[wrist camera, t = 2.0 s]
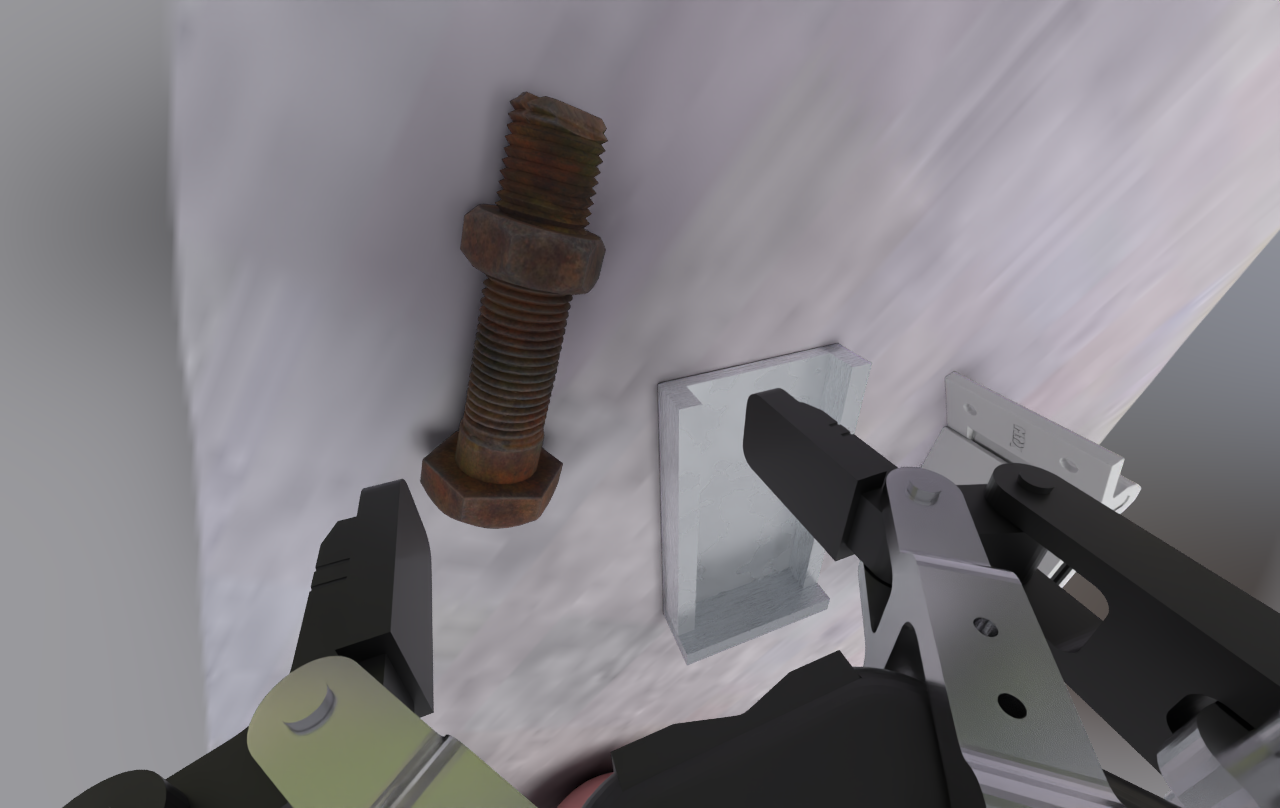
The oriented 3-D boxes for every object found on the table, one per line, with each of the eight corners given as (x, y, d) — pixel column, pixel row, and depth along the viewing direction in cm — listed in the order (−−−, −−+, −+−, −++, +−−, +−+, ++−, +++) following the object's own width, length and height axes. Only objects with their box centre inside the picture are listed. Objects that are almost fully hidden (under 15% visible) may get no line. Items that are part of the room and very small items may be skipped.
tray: (838, 343, 27) (892, 375, 24) (793, 566, 38) (826, 609, 34) (657, 383, 24) (692, 426, 21) (663, 613, 35) (686, 665, 31)
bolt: (559, 117, 19) (499, 445, 24) (439, 66, 15) (401, 471, 21) (678, 144, 16) (577, 507, 22) (568, 90, 12) (481, 552, 18)
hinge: (944, 373, 32) (1116, 461, 24) (1002, 358, 34) (1182, 436, 26) (892, 521, 40) (1010, 626, 32) (941, 503, 41) (1066, 599, 33)
